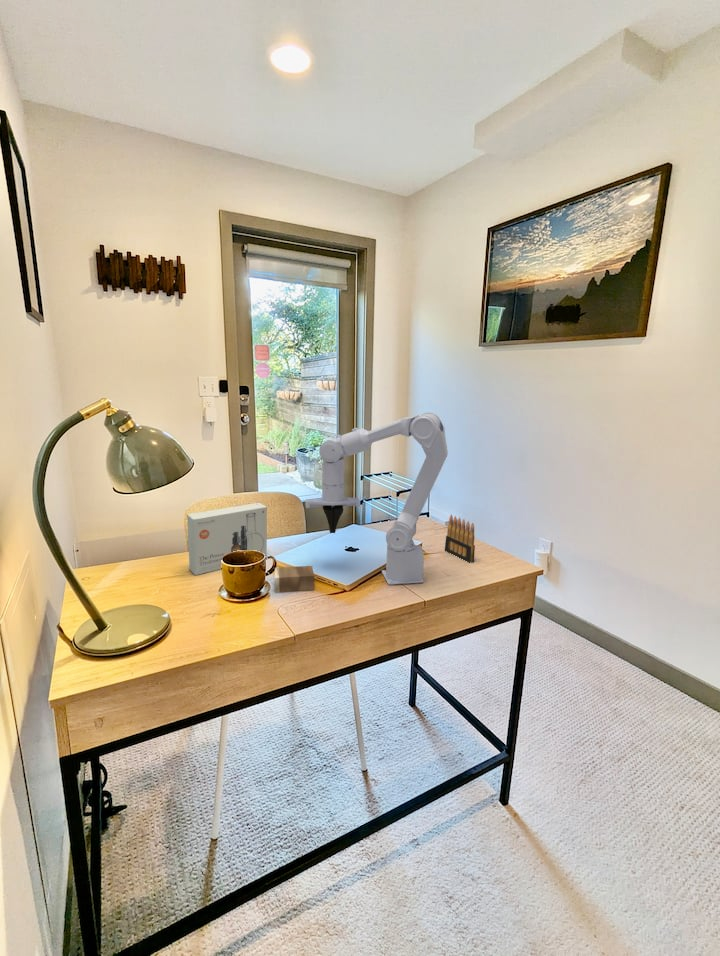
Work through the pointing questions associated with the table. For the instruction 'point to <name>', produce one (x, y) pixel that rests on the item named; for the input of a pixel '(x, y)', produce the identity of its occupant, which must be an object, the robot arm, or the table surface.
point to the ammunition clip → (460, 539)
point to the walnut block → (294, 579)
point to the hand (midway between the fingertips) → (332, 531)
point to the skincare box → (225, 534)
